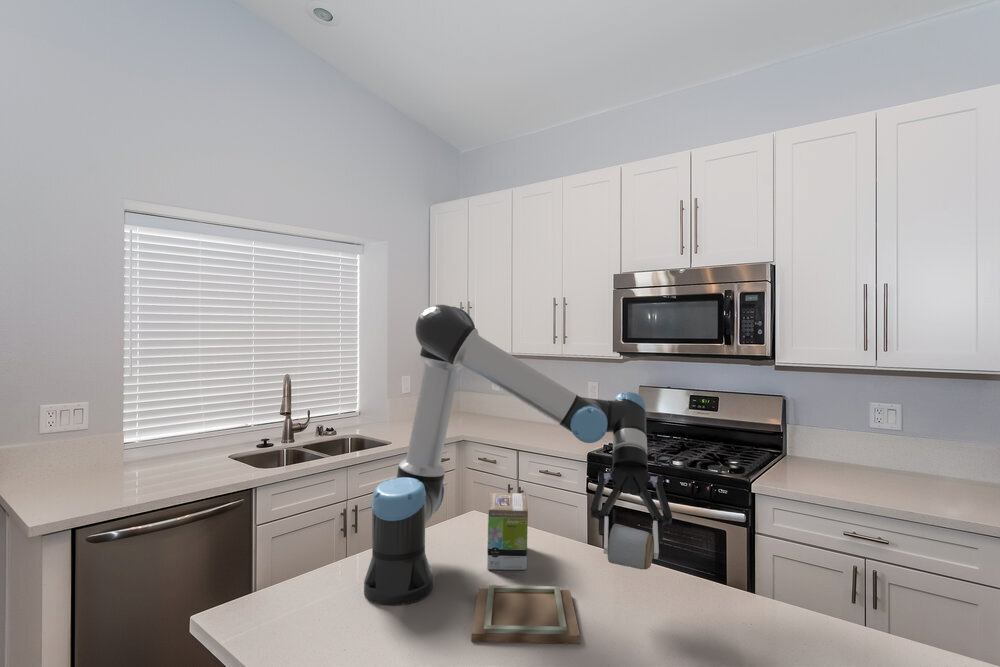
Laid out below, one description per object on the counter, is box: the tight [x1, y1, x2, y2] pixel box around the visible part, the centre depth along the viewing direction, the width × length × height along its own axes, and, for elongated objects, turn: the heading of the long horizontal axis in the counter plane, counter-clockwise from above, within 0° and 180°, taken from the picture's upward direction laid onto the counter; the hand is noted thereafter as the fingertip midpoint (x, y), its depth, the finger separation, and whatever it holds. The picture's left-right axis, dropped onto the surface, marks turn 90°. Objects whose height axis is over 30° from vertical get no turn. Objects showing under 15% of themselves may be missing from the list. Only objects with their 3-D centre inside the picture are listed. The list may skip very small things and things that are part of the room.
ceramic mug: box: [606, 523, 654, 570], centre depth 110 cm, size 11×8×8 cm
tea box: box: [486, 492, 529, 571], centre depth 138 cm, size 15×10×15 cm
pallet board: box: [470, 584, 581, 645], centre depth 109 cm, size 20×18×2 cm
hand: (630, 553), depth 105 cm, fingers closed on ceramic mug, 9 cm apart
